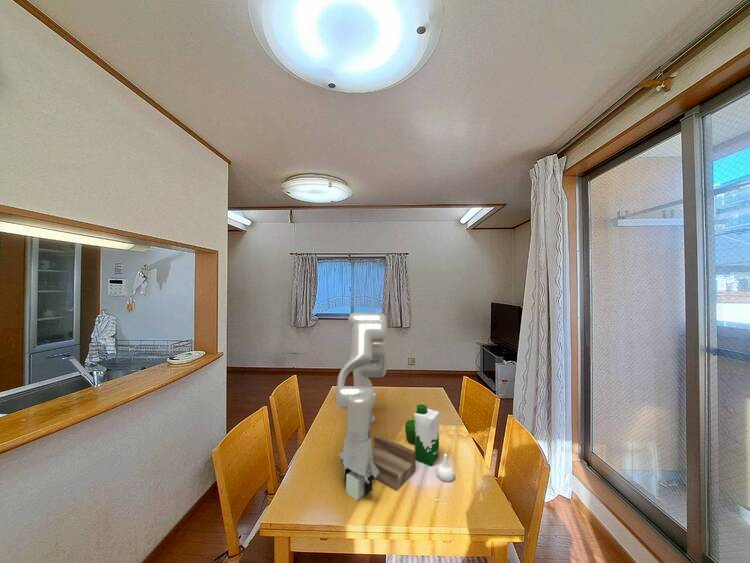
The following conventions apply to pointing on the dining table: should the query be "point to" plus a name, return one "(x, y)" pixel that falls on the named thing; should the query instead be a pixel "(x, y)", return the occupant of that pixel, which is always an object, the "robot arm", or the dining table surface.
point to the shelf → (393, 462)
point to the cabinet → (355, 484)
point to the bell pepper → (410, 430)
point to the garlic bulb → (445, 470)
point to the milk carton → (426, 435)
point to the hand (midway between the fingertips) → (357, 486)
